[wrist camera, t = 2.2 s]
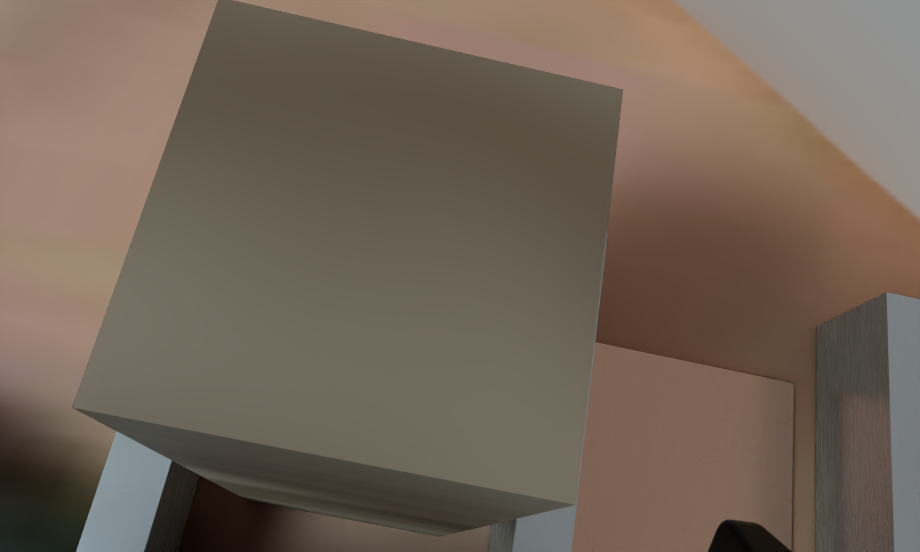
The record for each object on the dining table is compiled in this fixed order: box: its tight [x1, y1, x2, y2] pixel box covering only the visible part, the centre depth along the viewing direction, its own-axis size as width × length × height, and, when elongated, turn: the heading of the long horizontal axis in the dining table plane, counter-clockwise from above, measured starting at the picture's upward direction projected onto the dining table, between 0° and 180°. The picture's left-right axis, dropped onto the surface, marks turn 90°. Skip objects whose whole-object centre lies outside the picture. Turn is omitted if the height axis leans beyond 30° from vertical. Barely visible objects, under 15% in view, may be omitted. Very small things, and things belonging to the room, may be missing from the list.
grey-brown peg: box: [72, 0, 623, 537], centre depth 13 cm, size 5×5×12 cm
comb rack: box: [76, 232, 920, 552], centre depth 18 cm, size 11×18×3 cm, turn 80°
